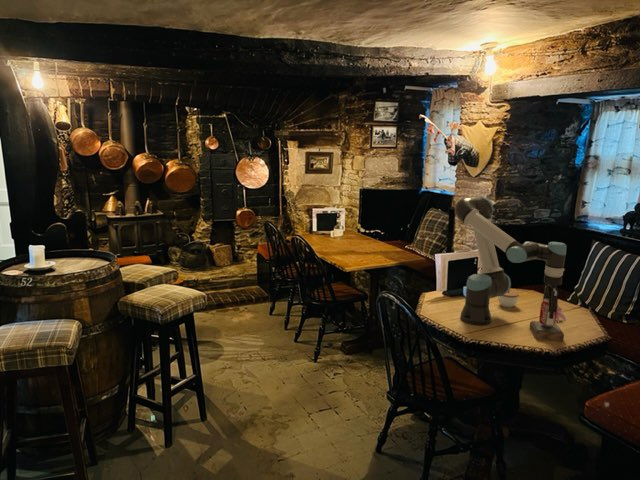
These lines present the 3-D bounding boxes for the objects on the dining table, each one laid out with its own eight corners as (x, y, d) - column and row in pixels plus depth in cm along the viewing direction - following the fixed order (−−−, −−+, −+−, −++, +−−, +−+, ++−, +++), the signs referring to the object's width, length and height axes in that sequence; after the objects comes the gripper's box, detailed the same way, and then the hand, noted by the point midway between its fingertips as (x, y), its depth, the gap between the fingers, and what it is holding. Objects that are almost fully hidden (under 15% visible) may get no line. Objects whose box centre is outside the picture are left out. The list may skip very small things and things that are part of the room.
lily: (545, 324, 225) (557, 311, 220) (534, 308, 235) (546, 295, 230) (563, 329, 228) (575, 317, 223) (552, 313, 238) (563, 301, 233)
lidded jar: (499, 301, 255) (501, 285, 253) (519, 305, 249) (521, 289, 247) (494, 306, 247) (496, 290, 245) (514, 310, 241) (516, 294, 239)
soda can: (557, 327, 204) (560, 303, 202) (541, 326, 206) (544, 302, 203) (552, 322, 211) (555, 298, 209) (536, 320, 212) (539, 297, 210)
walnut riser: (535, 338, 205) (536, 329, 204) (529, 328, 216) (530, 320, 216) (563, 341, 202) (564, 332, 201) (555, 331, 214) (556, 322, 213)
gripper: (569, 282, 193) (562, 330, 198) (556, 270, 212) (550, 314, 217) (550, 280, 194) (544, 328, 199) (539, 268, 213) (533, 312, 218)
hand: (547, 321), depth 208 cm, fingers closed on soda can, 7 cm apart
